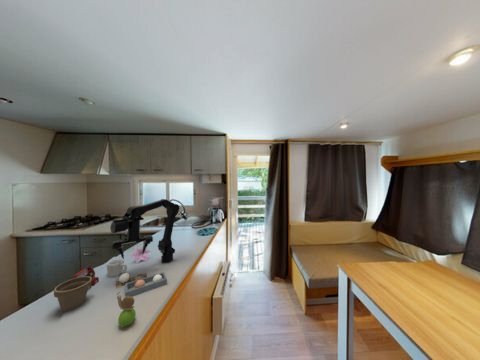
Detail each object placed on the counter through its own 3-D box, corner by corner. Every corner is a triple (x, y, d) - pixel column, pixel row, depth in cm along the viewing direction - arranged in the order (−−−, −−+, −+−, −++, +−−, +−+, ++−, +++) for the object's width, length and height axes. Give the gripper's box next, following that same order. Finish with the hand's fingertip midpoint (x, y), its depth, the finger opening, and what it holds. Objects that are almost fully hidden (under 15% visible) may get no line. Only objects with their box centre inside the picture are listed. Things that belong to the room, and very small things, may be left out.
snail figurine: (121, 318, 63) (122, 287, 63) (138, 317, 64) (139, 287, 64) (111, 331, 58) (112, 297, 58) (130, 330, 58) (130, 296, 59)
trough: (163, 278, 90) (163, 272, 90) (166, 286, 83) (166, 279, 83) (125, 291, 79) (125, 283, 79) (125, 300, 73) (125, 292, 73)
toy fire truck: (101, 281, 88) (101, 261, 88) (82, 296, 75) (83, 274, 75) (86, 282, 86) (87, 262, 87) (65, 298, 74) (66, 275, 74)
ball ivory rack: (129, 278, 88) (129, 270, 88) (129, 282, 84) (129, 274, 84) (119, 281, 85) (119, 273, 85) (118, 286, 82) (119, 277, 82)
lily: (125, 265, 106) (128, 255, 103) (134, 251, 117) (137, 241, 114) (145, 269, 109) (148, 258, 106) (151, 255, 120) (154, 245, 117)
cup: (131, 272, 96) (131, 258, 96) (120, 280, 88) (120, 265, 88) (115, 271, 97) (115, 258, 97) (102, 279, 89) (102, 264, 89)
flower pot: (74, 296, 75) (75, 275, 75) (98, 297, 75) (98, 275, 75) (43, 317, 64) (44, 291, 64) (71, 318, 63) (72, 292, 64)
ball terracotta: (145, 290, 79) (145, 281, 79) (134, 293, 77) (135, 284, 77) (144, 285, 83) (144, 276, 83) (133, 288, 80) (134, 279, 80)
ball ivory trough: (161, 280, 88) (161, 271, 88) (162, 284, 84) (163, 275, 84) (151, 283, 85) (152, 274, 85) (153, 287, 81) (153, 278, 81)
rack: (146, 274, 94) (146, 271, 94) (147, 280, 88) (147, 277, 88) (116, 283, 86) (116, 280, 86) (115, 290, 80) (115, 287, 80)
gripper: (150, 223, 103) (149, 248, 103) (113, 228, 92) (112, 255, 92) (153, 227, 94) (152, 254, 94) (112, 233, 83) (112, 263, 83)
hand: (133, 256), depth 91 cm, fingers open, 9 cm apart
